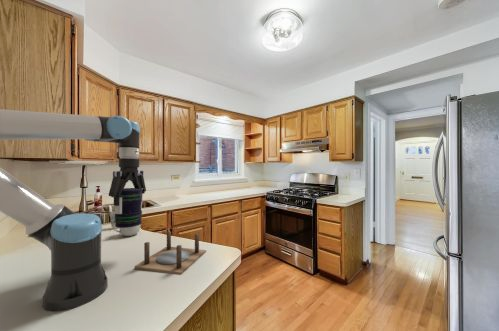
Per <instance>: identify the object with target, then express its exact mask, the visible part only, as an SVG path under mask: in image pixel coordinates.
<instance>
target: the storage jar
mask: <svg viewBox="0 0 499 331" xmlns="http://www.w3.org/2000/svg"><path fill="white" fill-rule="evenodd" d="M142 189H143V188H140V189H138V188H134V187H124V189H123V190H122V194H121V196H120V197H122V214H115V223H116V224H115V227H116V229H118V228H119V229H120V228H128V227H134V226H138V225H140V224H141V225H142V219H143V210H142V208H141V202H142V201H143V194H142ZM141 197H142V198H141ZM142 203H143V202H142ZM141 225H140V226H141Z"/></svg>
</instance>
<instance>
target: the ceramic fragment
mask: <svg viewBox="0 0 499 331" xmlns="http://www.w3.org/2000/svg"><path fill="white" fill-rule="evenodd" d="M108 216H109V218H110V224H111V228H112V229H114V226H115V224H116V223H115V211H114V212H110V213H109V214H108Z"/></svg>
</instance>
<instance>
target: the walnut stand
mask: <svg viewBox="0 0 499 331" xmlns="http://www.w3.org/2000/svg"><path fill="white" fill-rule="evenodd" d="M150 244H151V243H150V242H149V241H146V242H144V253H143V254H144V255H143V256H144V260H143V261H141V262H139V263H138V264H136V265H134V270H138V271H149V272H157V273H158V272H159V273H167V274H175V275H183V274H184V273H185V272H186V271H187V270H189V268H190V267H191V266H192V265H193V264H195V263H196V262H197V261H198V260H199V259H200V258H201V257H203V256H204V254H206V253H207V250H206V249H200V234H199V233H197V232H196V233H194V248H187V247H183V246H182V245H181V244H178V245H176V246H172V232H171V231H170V230H169V231H166V246H165V247H164V248H162V249H159V250H158V251H157V252H155V253H153V254H152V255H151V256H150V249H151V248H150Z"/></svg>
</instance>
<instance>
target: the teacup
mask: <svg viewBox="0 0 499 331" xmlns="http://www.w3.org/2000/svg"><path fill="white" fill-rule="evenodd" d="M141 225H142V224H140V225H138V226H134V227H128V228H119V229H117V227H115V226H114V228H113V230H114V231H115V232H116V233H119V235H120V234H121V235H123V237H133V236H135V235H137V233H139V232H140V231H141Z"/></svg>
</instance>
